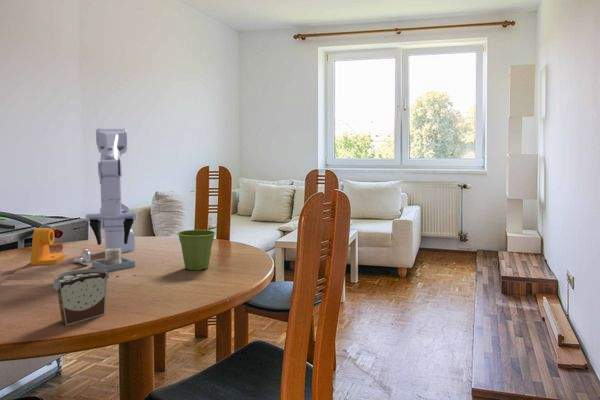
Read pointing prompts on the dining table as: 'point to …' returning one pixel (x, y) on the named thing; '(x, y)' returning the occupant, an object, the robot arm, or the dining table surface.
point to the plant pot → (196, 248)
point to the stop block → (113, 256)
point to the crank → (83, 257)
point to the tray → (113, 265)
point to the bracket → (44, 248)
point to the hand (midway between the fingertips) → (112, 243)
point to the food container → (81, 294)
